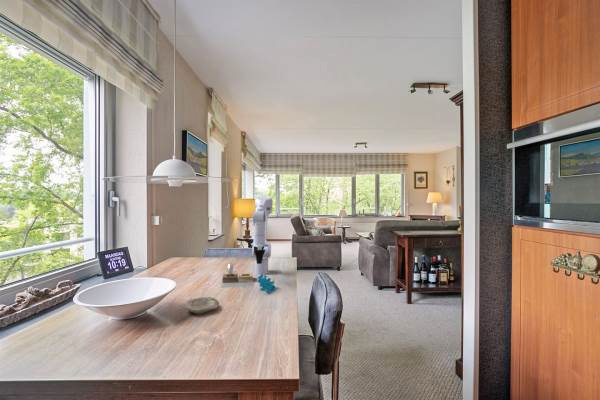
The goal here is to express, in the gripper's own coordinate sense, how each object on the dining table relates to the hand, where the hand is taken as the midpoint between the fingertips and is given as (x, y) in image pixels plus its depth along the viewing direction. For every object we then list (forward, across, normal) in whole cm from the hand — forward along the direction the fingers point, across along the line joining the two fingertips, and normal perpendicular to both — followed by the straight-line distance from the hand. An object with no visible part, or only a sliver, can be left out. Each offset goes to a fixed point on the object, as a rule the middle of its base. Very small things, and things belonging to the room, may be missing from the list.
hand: (258, 262), depth 150 cm
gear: (+10, +17, +3) cm, 20 cm away
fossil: (+10, +35, -22) cm, 43 cm away
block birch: (+9, -1, -6) cm, 11 cm away
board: (+10, +2, -10) cm, 14 cm away
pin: (+9, -1, -14) cm, 17 cm away
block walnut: (+9, -1, -14) cm, 17 cm away
